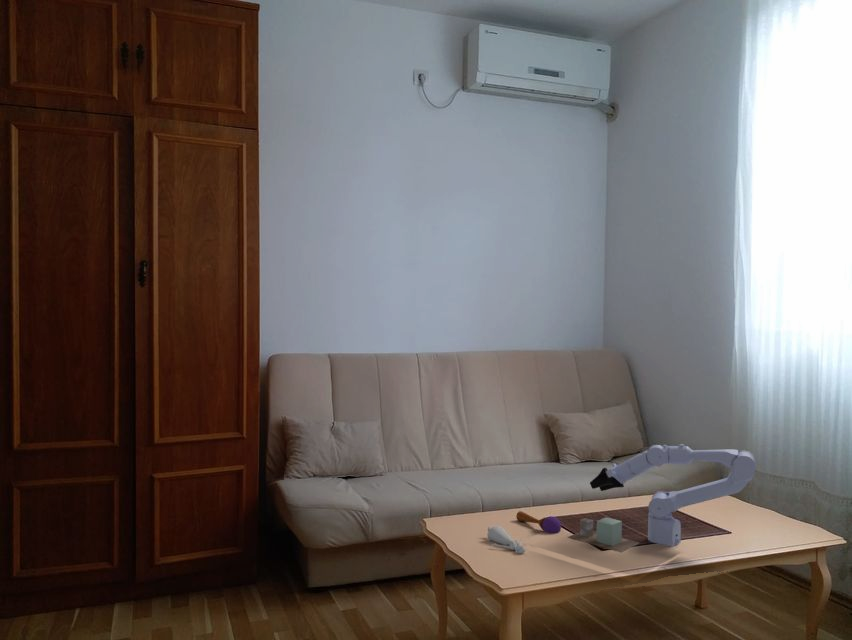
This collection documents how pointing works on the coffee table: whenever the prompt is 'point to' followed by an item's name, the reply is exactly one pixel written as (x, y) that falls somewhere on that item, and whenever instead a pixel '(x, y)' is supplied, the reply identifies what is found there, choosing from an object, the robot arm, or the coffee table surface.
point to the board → (590, 537)
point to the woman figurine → (504, 539)
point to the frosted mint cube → (609, 531)
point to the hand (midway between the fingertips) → (595, 487)
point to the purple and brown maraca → (541, 522)
